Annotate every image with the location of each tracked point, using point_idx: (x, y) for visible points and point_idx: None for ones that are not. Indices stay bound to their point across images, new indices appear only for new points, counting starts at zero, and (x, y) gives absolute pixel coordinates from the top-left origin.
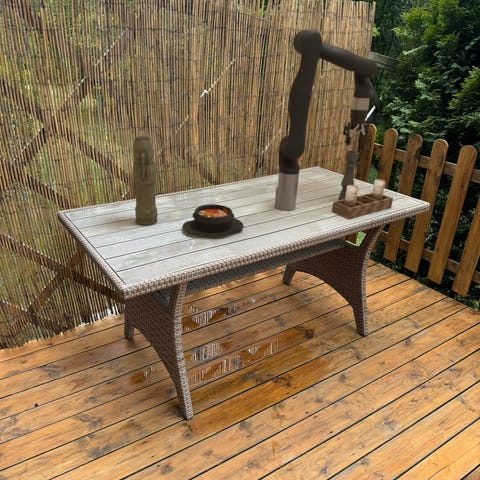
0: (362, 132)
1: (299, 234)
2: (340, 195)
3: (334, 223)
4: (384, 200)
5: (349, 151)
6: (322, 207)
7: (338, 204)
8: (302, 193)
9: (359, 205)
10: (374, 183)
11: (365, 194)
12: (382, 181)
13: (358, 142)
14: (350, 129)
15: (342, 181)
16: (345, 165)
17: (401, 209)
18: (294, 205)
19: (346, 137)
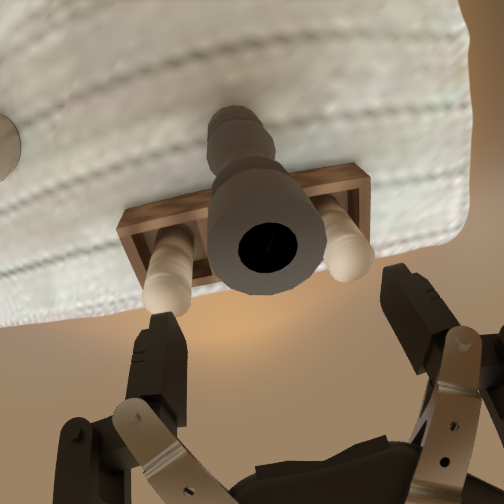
0: (419, 415)
1: (9, 307)
2: (209, 135)
3: (97, 284)
4: (323, 259)
5: (251, 223)
6: (110, 166)
7: (126, 251)
8: (109, 3)
9: (195, 279)
10: (328, 248)
11: (304, 190)
12: (354, 271)
13: (384, 271)
14: (214, 486)
15: (209, 151)
16: (212, 186)
17: (373, 248)
18: (5, 177)
19: (130, 397)
